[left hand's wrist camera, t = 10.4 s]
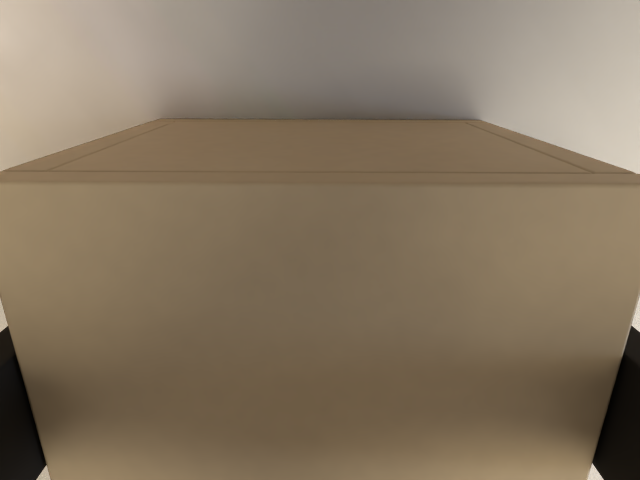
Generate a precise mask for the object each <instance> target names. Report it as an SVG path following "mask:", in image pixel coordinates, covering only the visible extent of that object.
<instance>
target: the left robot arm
mask: <svg viewBox="0 0 640 480" xmlns="http://www.w3.org/2000/svg"><path fill="white" fill-rule="evenodd" d="M592 463H593V465H594V466H595V468H596V469H597V470H598V472H599V473H600V475H601V476H602V478H603V479H604V480H640V332H639V331H637V330H636V329H635V328H634V327H633V326H631V328H630V331H629V335H628V338H627V342H626V346H625V349H624V353H623V356H622V360H621V363H620V367H619V370H618V374H617V377H616V381H615V384H614V388H613V391H612V395H611V398H610V402H609V405H608V409H607V412H606V416H605V419H604V423H603V426H602V430H601V433H600V437H599V440H598V444H597V447H596V451H595V454H594V458H593V461H592ZM46 465H47V464H46V460H45V457H44V453H43V450H42V446H41V442H40V439H39V435H38V431H37V428H36V424H35V421H34V417H33V413H32V410H31V406H30V403H29V399H28V395H27V392H26V388H25V385H24V381H23V377H22V374H21V370H20V366H19V363H18V359H17V356H16V352H15V348H14V345H13V341H12V338H11V334H10V330H9V327H8V326H7V327H6V328H5V329H4V330H3V331H1V332H0V480H36V479H37V478H38V476H39V475H40V473H41V472H42V470H43V469H44V467H45V466H46Z"/></svg>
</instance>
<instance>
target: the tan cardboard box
mask: <svg viewBox="0 0 640 480" xmlns="http://www.w3.org/2000/svg"><path fill="white" fill-rule="evenodd" d="M639 296H640V174H636V173H634V172H632V171H629V170H626V169H623V168H620V167H617V166H614V165H611V164H608V163H605V162H602V161H599V160H596V159H593V158H590V157H587V156H584V155H582V154H579V153H576V152H573V151H570V150H567V149H564V148H561V147H558V146H555V145H552V144H549V143H546V142H543V141H540V140H537V139H534V138H531V137H528V136H525V135H523V134H520V133H517V132H514V131H511V130H508V129H505V128H502V127H499V126H496V125H493V124H490V123H487V122H484V121H481V120H330V119H158V120H155V121H151V122H148V123H145V124H142V125H139V126H136V127H133V128H130V129H127V130H124V131H121V132H118V133H115V134H112V135H109V136H106V137H103V138H100V139H97V140H94V141H91V142H88V143H84V144H81V145H78V146H75V147H72V148H69V149H66V150H63V151H60V152H57V153H54V154H51V155H48V156H45V157H42V158H39V159H36V160H33V161H30V162H27V163H24V164H21V165H18V166H15V167H12V168H9V169H6V170H3V171H1V172H0V298H1V301H2V305H3V309H4V312H5V316H6V320H7V323H8V327H9V330H10V334H11V338H12V341H13V345H14V348H15V352H16V356H17V359H18V363H19V366H20V370H21V374H22V377H23V381H24V385H25V388H26V392H27V395H28V399H29V403H30V406H31V410H32V413H33V417H34V421H35V424H36V428H37V431H38V435H39V439H40V442H41V446H42V450H43V453H44V457H45V460H46V464H47V468H48V471H49V475H50V478H51V480H587V479H588V475H589V472H590V468H591V465H592V461H593V458H594V454H595V451H596V447H597V444H598V440H599V437H600V433H601V430H602V426H603V423H604V419H605V416H606V412H607V409H608V405H609V402H610V398H611V395H612V391H613V388H614V384H615V381H616V377H617V374H618V370H619V367H620V363H621V360H622V356H623V353H624V349H625V346H626V342H627V338H628V335H629V331H630V328H631V324H632V321H633V317H634V314H635V310H636V307H637V303H638V300H639Z"/></svg>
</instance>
